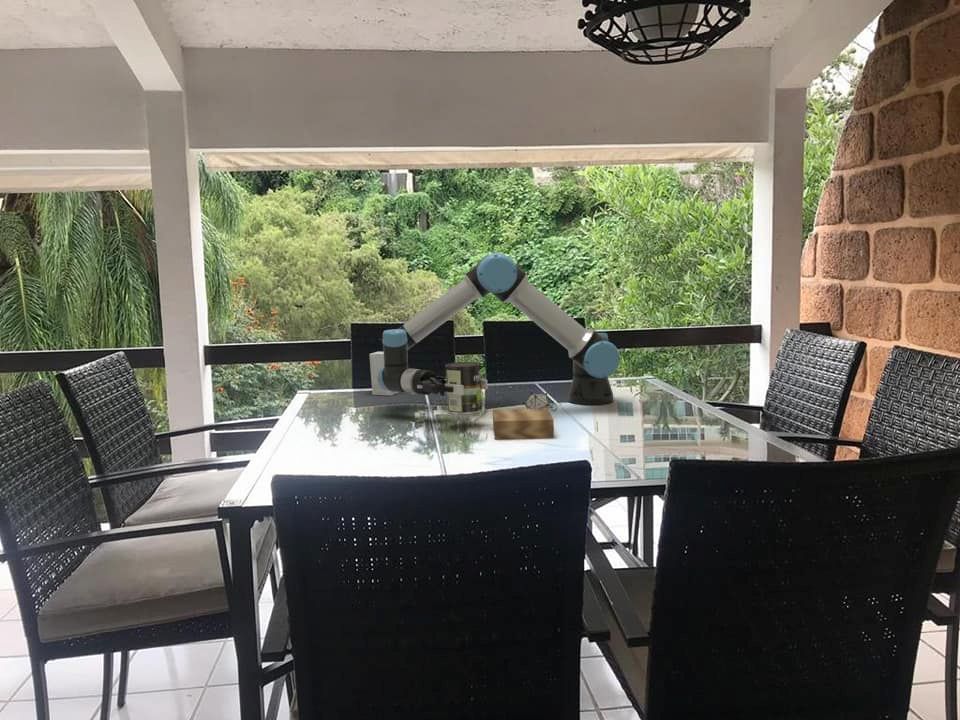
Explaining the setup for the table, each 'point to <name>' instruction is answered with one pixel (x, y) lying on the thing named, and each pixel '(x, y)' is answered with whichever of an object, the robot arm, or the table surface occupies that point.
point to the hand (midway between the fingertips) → (475, 387)
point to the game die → (537, 402)
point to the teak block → (523, 424)
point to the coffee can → (471, 380)
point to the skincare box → (376, 366)
